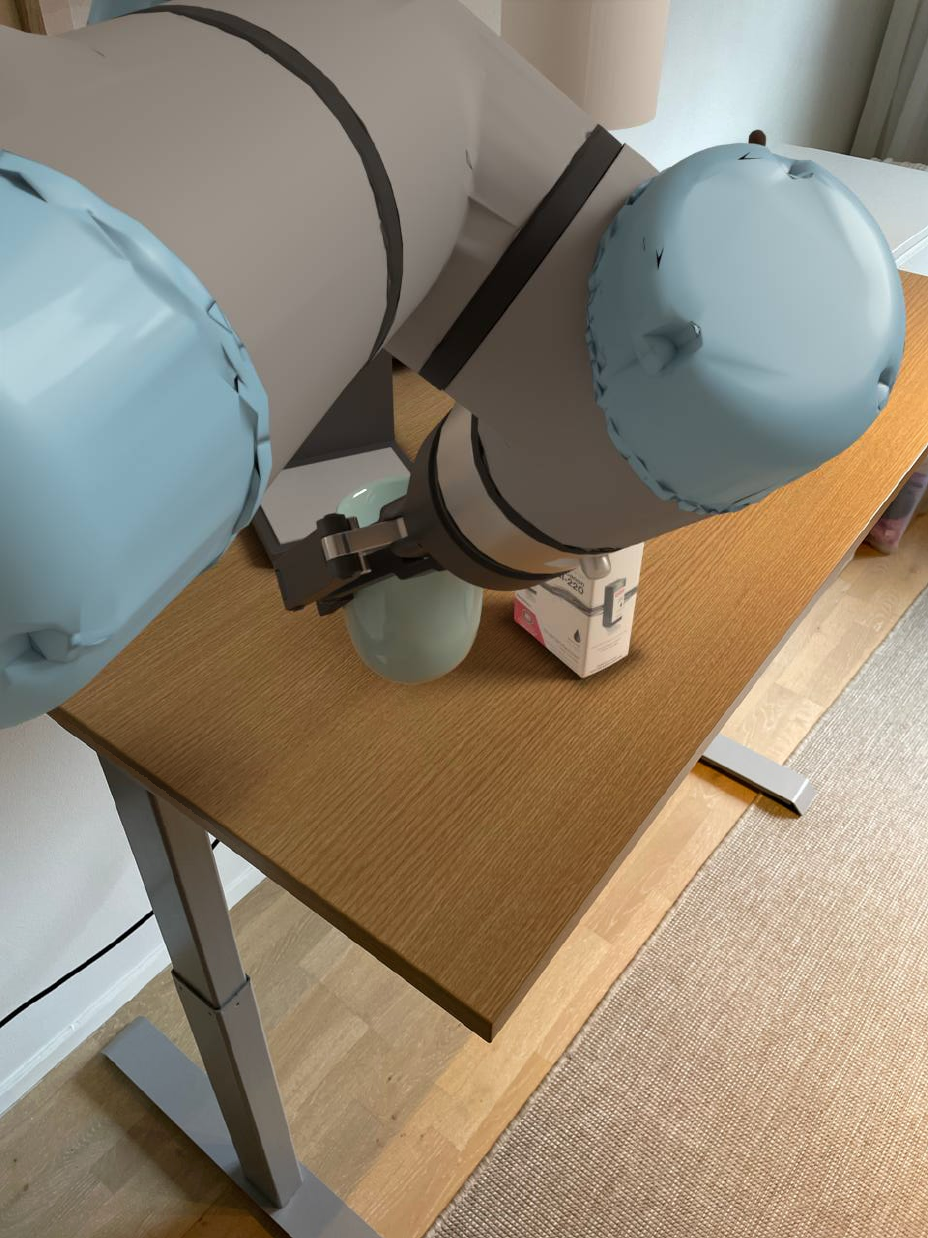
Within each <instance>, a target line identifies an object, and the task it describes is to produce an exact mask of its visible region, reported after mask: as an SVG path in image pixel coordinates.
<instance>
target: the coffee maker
mask: <svg viewBox="0 0 928 1238" xmlns="http://www.w3.org/2000/svg"><path fill="white" fill-rule="evenodd" d="M393 381H394V379H393V359H392V354H390V353H389V352H388V351H386V350H385V349H384V348H382V349H381V350H380V351H379V352H378V353H377V355H376V356H375V357H374V358H373V359H372V361H371V362H370V363H369V364H368V365H367V366H366V367H365V368H364V369H363V370H362V372H361V373H360V374H359V375H358V376H357V378H356V379H355V380H354V381H353V382H352V383H351V384H350V385H349V386H348V387H347V388H346V389H345V390H344V391H343V392H342V393H341V394H340V395H339V396H338V398H337V399H336V400H335V402H334V403H333V404H332V405H331V407H330V408H329V409H328V411H327V412H326V413H325V415H324V416H323V417H322V419H321V420H320V421H319V422H318V424H317V425H316V426H315V428H314V429H313V430H312V432H311V433H310V434H309V435H308V437H307V438H306V439H305V441H304V442H303V443H302V445H301V446H300V447H299V449H298V450H297V451H296V452H295V454H294V455H293V456H292V458H291V459H290V460H289V462H288V463H287V464H286V466H285V467H284V468H283V469H282V471H281V472H280V473H279V475H278V476H277V477H276V479H275V480H274V481H273V482H272V484H271V485H270V486H269V488H268V489H267V490H266V492H265V493H264V494H263V497H262V500H261V503H260V506H259V507H258V509H257V511H256V513H255V514H254V516H253V518H252V520H251V523H252V525H253V527H254V529H255V531H256V534H257V536H258V537H259V540H260V542H261V544H262V546H263V548H264V550H265V552H266V554H267V557H268V559H269V561H270V562H271V564H272V567H273V568H274V566H273V562H274V561H275V560H276V559H278V558H279V557H280V556H282V555H283V554H284V553H286V552H287V551H288V550H290V549H291V548H292V547H294V546H295V545H296V544H297V543H299V542H300V541H301V540H303V539H304V538H305V537H307V536H308V535H309V534H311V533H312V532H313V531H315V530H316V529H317V526H316V521H318V520H319V519H322V518H324V517H323V516H325V515H327V514H331V513H336V509H337V507H338V505H339V504H340V503H341V501H342V500H343V499H344V498H345V497H346V496H347V495H348V494H350V493H351V492H352V491H354V490H356V489H358V488H359V487H361V486H363V485H366V484H368V483H371V482H373V481H377V480H380V479H384V478H388V477H394V476H401V475H410V474H411V469H412V466H413V463H414V462H412V460H411V459H410V457H408V455H407V454H406V453H405V451H404V450H403V449H402V447H401V446H400V444H399V443H398V441H396V433H395V409H394V407H395V406H394V405H395V404H394V382H393Z"/></svg>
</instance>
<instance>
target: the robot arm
mask: <svg viewBox="0 0 928 1238" xmlns="http://www.w3.org/2000/svg"><path fill="white" fill-rule="evenodd" d="M898 269H899V268H898V266H897V262H896V259H895V257H894V254H893V252H892V250H891V247H890V244H889V243H888V240H887V238H886V236H885V234H884V232H883V230H882V229H881V227H880V225H879V223H878V222H877V221H876V219H875V217H874V216H873V214H872V213H871V212H870V211H869V209H868V208H867V207H866V205H865V203H863V201H862V200H861V199H860V198H859V197H858V195H856V194H855V192H853V191H852V189H851V188H850V187H848V185H846V184H845V183H844V182H843V181H842V180H840V178H838V177H837V176H835V175H834V174H833V173H832V172H831V171H829V170H828V169H826V168H825V167H823V166H821V165H820V164H819V163H817V162H816V161H813V160H811V159H795V158H790V157H787V156H784V155H780V154H776V153H773V152H771V150H770V148H769V147H768V146H762V145H758V144H749V143H748V142H733V143H726V144H719V145H715V146H710V147H707V148H704V149H701V150H699V151H696V152H693V153H692V154H690V155H688V156H686V157H684V158H682V159H681V160H679V161H678V162H676V163H674V164H673V165H672V166H669V167H666V168H664V169H663V170H662V171H659V169H657V168H656V167H655V166H654V165H653V164H652V163H650V161H648V160H647V159H646V158H645V157H644V156H643V155H641V154H640V153H639V152H638V151H636V150H635V149H634V148H633V147H631V146H630V145H629V144H628V143H626V142H624V143H622V142H620V141H619V140H618V139H617V138H616V137H615V136H614V135H613V134H612V133H611V132H610V131H607V130H606V129H605V128H603V127H602V126H601V125H599V124H598V123H597V122H596V121H595V120H594V119H592V118H591V117H590V116H589V115H588V114H587V113H586V112H584V111H583V110H582V109H581V108H580V107H579V106H578V105H576V104H575V103H574V102H573V101H572V100H571V99H570V98H569V97H567V96H566V95H565V94H564V93H563V92H562V91H561V90H559V89H558V88H557V87H556V86H555V85H554V84H553V83H552V82H550V81H549V80H548V79H547V78H546V77H545V76H544V75H542V74H541V73H540V72H539V71H538V70H537V69H536V68H535V67H533V66H532V65H531V64H530V63H529V62H528V61H527V60H525V59H524V58H523V57H522V56H521V55H520V54H519V53H518V52H516V51H515V50H514V49H513V48H512V47H511V46H510V45H508V44H507V43H506V42H505V41H504V40H503V39H502V38H501V37H500V35H498V34H497V33H496V32H495V31H494V30H493V29H492V28H491V27H489V26H488V25H487V24H486V23H485V22H484V21H482V19H481V18H480V17H478V16H477V15H476V14H474V13H473V12H472V11H471V10H470V9H469V8H468V7H467V6H466V5H464V3H462V2H461V1H460V0H91V3H90V7H89V12H88V16H87V20H86V24H85V26H83V27H79V28H76V29H72V30H69V31H65V32H61V33H58V34H53V35H46V34H39V33H31V32H26V31H22V30H20V29H17V28H14V27H12V26H11V27H10V26H8V25H5V24H1V23H0V731H2V730H4V729H5V730H6V729H8V728H14V727H18V726H19V725H21V724H24V723H26V722H28V721H31V720H34V719H36V718H38V717H41V716H43V715H44V714H47V713H49V712H50V711H52V710H55V709H56V708H58V707H59V706H60V705H62V704H63V703H65V702H66V701H68V700H69V699H71V698H72V697H73V696H75V695H76V694H77V693H79V692H80V691H81V690H82V689H83V688H85V687H86V686H87V685H88V684H89V683H90V682H91V681H92V680H93V679H94V678H95V677H96V676H98V674H99V673H100V672H101V671H102V670H103V669H105V668H106V667H107V666H108V665H109V664H110V663H111V662H112V661H113V660H114V659H115V658H116V657H117V656H118V655H119V654H120V653H121V652H122V651H123V650H124V649H125V648H126V647H127V646H129V644H130V643H132V641H133V640H134V639H135V638H136V637H138V636H139V635H140V634H141V633H142V632H143V630H145V628H146V627H148V626H149V624H151V622H153V620H155V618H157V617H158V615H159V614H161V613H162V612H163V610H164V609H165V608H166V607H167V606H169V605H170V604H171V602H172V601H173V600H174V599H175V598H176V597H178V595H179V594H181V593H182V591H184V590H185V588H187V586H189V584H191V583H193V581H194V579H197V578H198V577H199V576H201V575H202V574H203V573H205V572H206V571H208V570H210V569H211V568H213V567H214V566H215V565H217V564H218V563H219V561H220V560H221V558H223V557H224V555H225V554H226V552H228V549H229V548H230V546H231V545H232V543H233V541H234V540H235V539H236V537H237V536H238V534H239V533H240V531H242V530H243V529H244V528H247V527H248V526H249V525H250V523H252V521H251V520H252V518H253V516H254V514H255V513H256V511H257V509H258V507H259V506H260V503H261V500H262V497H263V494H264V493H265V492H266V490H267V489H268V488H269V486H270V485H271V484H272V482H273V481H274V480H275V479H276V477H277V476H278V475H279V473H280V472H281V471H282V469H283V468H284V467H285V466H286V464H287V463H288V462H289V460H290V459H291V458H292V456H293V455H294V454H295V452H296V451H297V450H298V449H299V447H300V446H301V445H302V443H303V442H304V441H305V439H306V438H307V437H308V435H309V434H310V433H311V432H312V430H313V429H314V428H315V426H316V425H317V424H318V422H319V421H320V420H321V419H322V417H323V416H324V415H325V413H326V412H327V411H328V409H329V408H330V407H331V405H332V404H333V403H334V402H335V400H336V399H337V398H338V396H339V395H340V394H341V393H342V392H343V391H344V390H345V389H346V388H347V387H348V386H349V385H350V384H351V383H352V382H353V381H354V380H355V379H356V378H357V376H358V375H359V374H360V373H361V372H362V370H363V369H364V368H365V367H366V366H367V365H368V364H369V363H370V362H371V361H372V359H373V358H374V357H375V356H376V355H377V353H378V352H379V351H380V350H381V349H382V348H384V349H385V350H386V351H388V352H389V353H390V354H392V355H393V356H394V357H396V358H397V359H396V360H398V361H399V362H401V363H402V364H403V365H405V366H406V367H408V369H410V370H412V371H413V372H414V373H415V374H417V375H418V376H419V377H420V378H422V379H424V381H426V382H427V383H429V384H430V385H432V386H433V387H434V388H435V389H437V390H438V391H440V392H441V391H442V392H443V393H445V394H446V395H447V396H448V397H450V398H452V399H453V401H455V402H454V404H453V406H452V407H451V408H450V409H449V411H448V412H447V413H446V414H445V415H444V416H443V417H442V418H441V419H440V420H439V422H438V423H437V424H436V425H435V426H434V427H433V429H432V430H431V431H430V432H429V433H428V435H427V436H426V437H425V439H424V440H423V442H422V443H421V445H420V446H419V448H418V450H417V453H416V455H415V457H414V460H413V462H412V463H413V466H412V469H411V474H410V478H409V483H408V489H407V494H406V495H404V496H402V497H400V498H398V499H396V500H394V501H392V502H390V503H388V504H386V505H384V506H383V507H382V508H381V509H380V514H379V519H378V521H377V522H375V523H372V524H370V525H368V526H366V527H362V528H360V527H359V523H358V520H357V517H356V516H350V517H347V518H346V517H345V514H339V513H337V514H335V513H331V514H327V515H325V516H323V517H324V518H322V519H319V520H318V521H316V526H317V529H316V530H315V531H313V532H312V533H311V534H309V535H308V536H307V537H305V538H304V539H303V540H301V541H300V542H299V543H297V544H296V545H295V546H294V547H292V548H291V549H290V550H288V551H287V552H286V553H284V554H283V555H282V556H280V557H279V558H278V559H276V560H275V561H274V562H273V565H272V567H273V566H274V567H273V569H274V573H275V577H276V581H277V584H278V588H279V591H280V595H281V599H282V602H283V603H282V604H283V606H284V610H285V611H288V612H294V613H295V612H299V611H300V612H301V611H303V610H304V608H305V607H307V606H311V604H313V603H315V605H316V608H317V611H318V616H319V617H321V618H322V617H325V616H328V615H332V614H334V613H335V612H337V611H338V610H340V609H342V606H344V605H345V604H347V603H348V602H350V601H351V600H352V599H354V596H353V593H354V592H356V591H359V590H361V589H364V588H366V587H369V586H371V585H374V584H376V583H378V582H381V581H383V580H386V579H388V578H391V577H393V576H397V577H398V578H399V579H400V580H406V579H411V578H416V577H420V576H425V575H428V574H430V573H433V572H435V571H438V572H441V571H446V570H448V571H449V572H451V573H452V574H453V575H455V576H456V577H458V578H460V579H461V580H463V581H465V582H467V583H470V584H472V585H474V586H477V587H481V588H484V589H486V590H489V591H496V592H515V591H517V590H523V589H527V588H531V587H534V586H537V585H539V584H542V583H544V582H547V581H549V580H552V579H554V578H557V577H559V576H562V575H564V574H567V573H569V572H571V571H573V570H575V569H576V568H578V567H580V566H581V569H582V572H583V573H584V575H585V576H586V577H587V579H592V580H598V579H601V578H605V577H606V576H607V575H609V574H610V571H611V563H610V559H609V556H608V554H611V553H614V552H617V551H619V550H622V549H624V548H628V547H630V546H633V545H637V544H639V543H642V542H644V543H645V542H647V541H650V540H652V539H655V538H659V537H660V536H662V535H665V534H668V533H672V532H673V531H676V530H679V529H681V528H684V527H687V526H690V525H693V524H696V523H699V522H701V521H704V520H706V519H709V518H712V517H715V516H720V515H725V514H729V513H733V514H734V513H737V512H740V511H743V510H745V509H746V508H747V507H749V506H752V505H755V504H757V503H760V502H762V500H764V499H765V498H766V497H767V496H769V495H770V494H771V493H774V492H775V491H777V490H779V489H781V488H783V487H785V486H787V485H789V484H791V483H793V482H795V481H797V480H799V479H801V478H802V477H804V476H806V475H807V474H809V473H812V472H813V471H816V470H818V469H819V468H820V467H821V466H822V465H823V464H825V463H827V462H828V461H831V460H832V459H834V458H836V457H837V456H839V455H841V454H842V453H843V452H844V451H846V450H847V449H849V448H850V447H851V446H852V445H854V444H855V443H856V442H857V441H859V439H861V438H862V436H863V435H864V434H865V433H866V432H867V431H868V429H870V427H871V426H872V425H873V424H874V422H875V421H876V419H877V418H878V417H879V415H880V413H881V412H882V411H883V410H884V409H885V408H886V406H888V403H889V399H890V396H891V394H892V391H893V388H894V387H895V384H896V381H897V380H898V377H899V372H900V370H901V366H902V363H903V357H904V352H905V345H906V344H905V343H906V328H907V313H906V301H905V294H904V289H903V284H902V279H901V275H900V273H899V270H898ZM424 558H427V559H424ZM484 589H483V590H484Z"/></svg>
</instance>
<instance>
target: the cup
mask: <svg viewBox="0 0 928 1238" xmlns="http://www.w3.org/2000/svg"><path fill="white" fill-rule="evenodd" d="M409 478H410V475H401V476H394V477H388V478H384V479H380V480H377V481H373V482H371V483H368V484H366V485H363V486H361V487H359V488H358V489H356V490H354V491H352V492H351V493H350V494H348V495H347V496H346V497H345V498H344V499H343V500H342V501H341V503H340V504H339V505H338V507H337V509H336V513H335V514H337V513H339V514H345V517H346V518H347V517H350V516H356V517H357V520H358V523H359V527H360V528H362V527H366V526H368V525H370V524H372V523H375V522H377V521H378V519H379V514H380V509H381V508H382V507H383V506H384V505H386V504H388V503H390V502H392V501H394V500H396V499H398V498H400V497H402V496H404V495H406V494H407V489H408V483H409ZM424 559H427V558H424ZM353 596H354V599H352V600H351V601H350V602H348V603H347V604H345V605H344V606H342V607H341V612H342V617H343V622H344V625H345V628H346V629H345V630H346V632H347V634H348V637H349V640H350V642H351V645H352V647H353V649H354V651H355V653H356V654H357V656H358V657H359V658H360V659H361V661H362V662H363V664H365V666H366V667H367V668H368V669H370V671H371V672H373V673H374V674H376V675H378V676H379V677H381V678H383V679H385V680H387V681H390V682H392V683H396V684H401V685H418V684H423V683H429V682H432V681H434V680H437V679H440V678H442V677H443V676H446V675H447V674H449V673H451V672H452V671H453V670H455V669H456V668H457V667H458V666H459V665H460V664H461V663H462V662H463V661H464V660H465V658H466V657H467V656H468V655H469V653H470V651H471V649H472V646H473V645H474V643H475V640H476V637H477V634H478V631H479V626H480V621H481V616H482V610H483V609H482V608H483V600H484V599H483V598H484V588H481V587H477V586H474V585H472V584H470V583H467V582H465V581H463V580H461V579H460V578H458V577H456V576H455V575H453V574H452V573H451V572H449V571H448V570H446V571H441V572H438V571H435V572H433V573H430V574H428V575H425V576H420V577H416V578H411V579H406V580H400V579H399V578H398V577H397V576H393V577H391V578H388V579H386V580H383V581H381V582H378V583H376V584H374V585H371V586H369V587H366V588H364V589H361V590H359V591H356V592H354V593H353Z"/></svg>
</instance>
